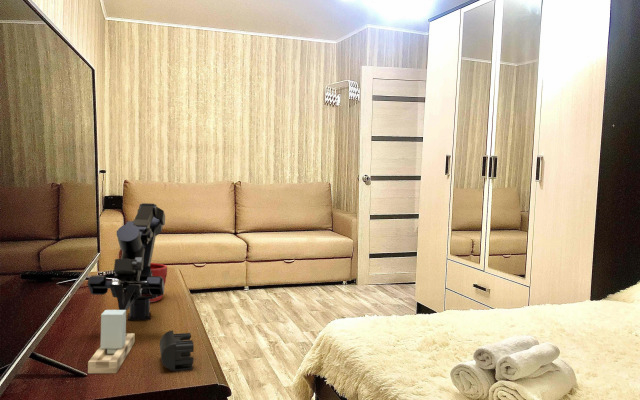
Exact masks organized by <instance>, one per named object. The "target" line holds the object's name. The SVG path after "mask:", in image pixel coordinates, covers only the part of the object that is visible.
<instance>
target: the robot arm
mask: <svg viewBox="0 0 640 400" xmlns="http://www.w3.org/2000/svg"><path fill="white" fill-rule="evenodd" d="M136 211H137V213H136V216H135V218H134V219H133V220H131V221H126V223H125V224H124V225H121V226H119V228H118V229H117V230H116V238H117V241H118V245H119V249H120V251H121V252H122V253H121V257H120V258H115V259H114V264H113V265H114V266H113V272H114V278H115V279H113V278H112V279H111V280H107V277H106V275H97V274H95V275H91V276H90V277H88V278H87V287H88V290H89V291H90V294H91V295H94V296H95V295H96V296H97V295H98V296H104V295H106V294H107V293H108V291H109V290H110V292H111V294H112V297H113V298H116V301H117V304H118V305H117V306H118V310H126V312H127V311H128V310H129V312H128V315H127V321H145V320H147V321H148V320H151V319H152V312H151V311H150V308H151V307H150V305H151V304H150V303H151V302H150V299H153V298H156V297H157V295H163V296H164V294H165V286H164V281H163V278H162V277H161V276H152V271H151V268H150V265H151V263H152V260H153V253H154V247H155V241H156V237H157V236H158V235H159V234H161V233H162V231H163V227H164V226H165V225H166V213H165V211H164V209H161V208H159V207H158V205H157V204H155V203H148V202H147V203H145V202H143V203H139V207H138V209H137V210H136ZM108 289H109V290H108Z"/></svg>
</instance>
